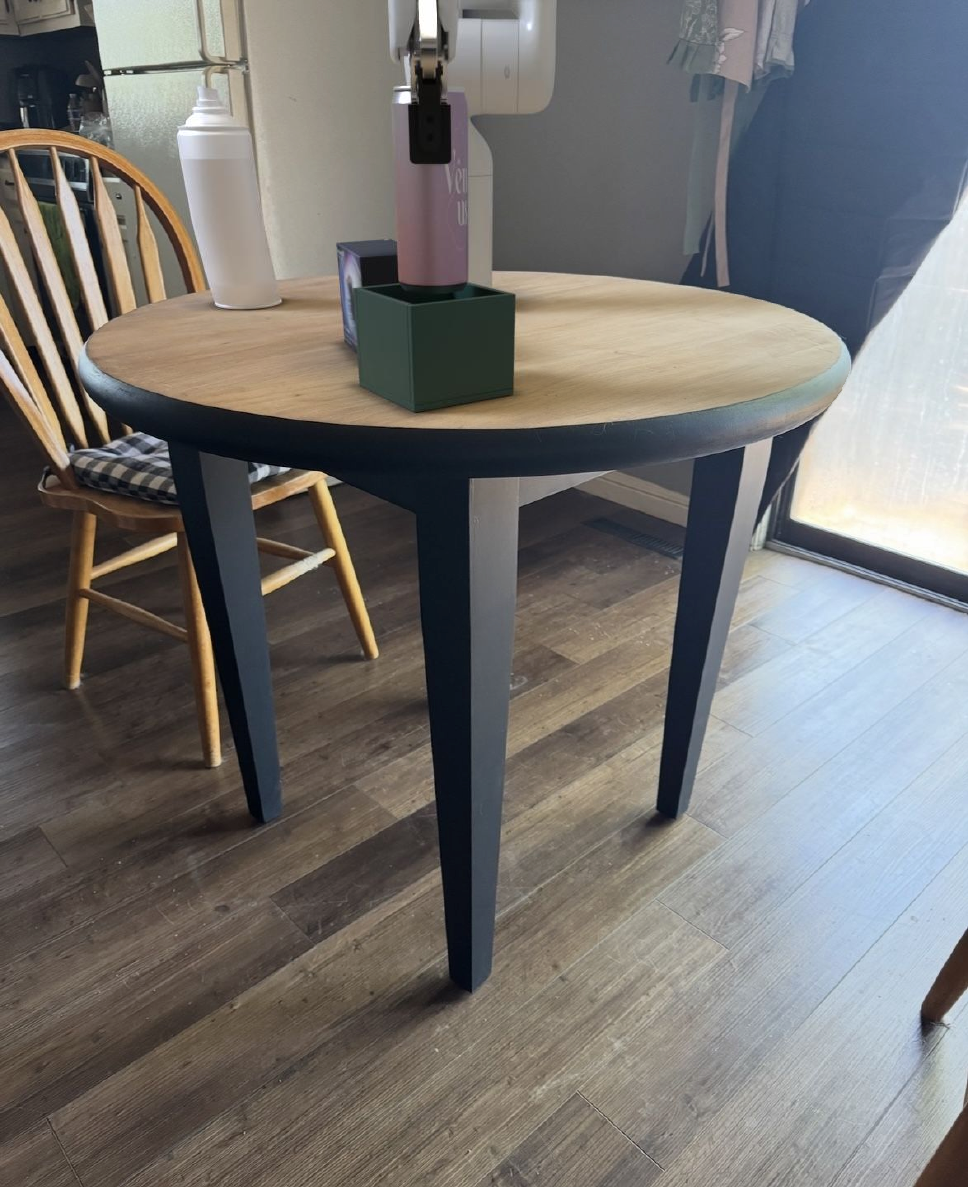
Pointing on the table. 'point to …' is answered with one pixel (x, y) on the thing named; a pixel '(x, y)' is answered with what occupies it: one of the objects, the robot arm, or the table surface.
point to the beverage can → (431, 204)
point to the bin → (435, 345)
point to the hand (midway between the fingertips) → (430, 159)
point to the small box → (363, 275)
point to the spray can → (226, 206)
